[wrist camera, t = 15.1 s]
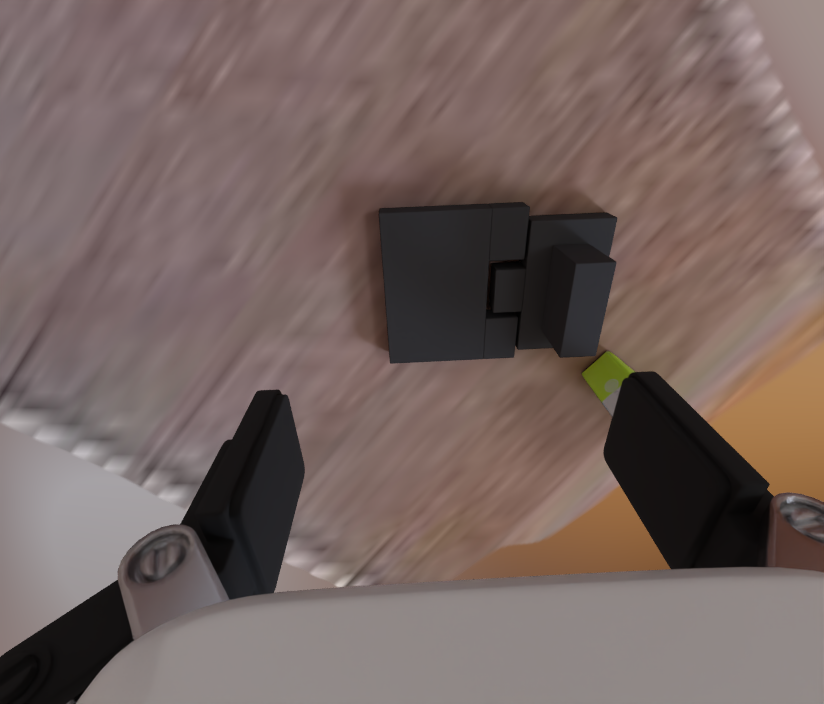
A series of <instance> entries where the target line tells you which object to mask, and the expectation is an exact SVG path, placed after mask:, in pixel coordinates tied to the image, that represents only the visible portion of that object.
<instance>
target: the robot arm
mask: <svg viewBox="0 0 824 704" xmlns="http://www.w3.org/2000/svg"><path fill="white" fill-rule="evenodd" d="M604 458H605V461H606V463H607V465H608V466H609V468H610V470H611V471H612V473H613V474H614V476H615V478H616V479H617V481H618V483H619V484H620V486H621V488H622V489H623V491H624V492H625V494H626V496H627V497H628V499H629V501H630V503H631V504H632V506H633V508H634V509H635V511H636V512H637V514H638V516H639V517H640V519H641V521H642V522H643V524H644V526H645V527H646V529H647V531H648V532H649V534H650V536H651V537H652V539H653V541H654V542H655V544H656V545H657V547H658V549H659V550H660V552H661V554H662V555H663V557H664V559H665V560H666V562H667V564H668V565H669V566H670V568H671V569H669V570H648V571H628V572H606V573H586V574H565V575H547V576H529V577H509V578H491V579H473V580H454V581H437V582H420V583H403V584H386V585H369V586H352V587H339V588H327V589H313V590H300V591H287V592H277V593H274V590H275V588H276V584H277V580H278V576H279V572H280V569H281V565H282V561H283V557H284V553H285V549H286V545H287V541H288V537H289V534H290V530H291V526H292V522H293V518H294V514H295V510H296V506H297V502H298V499H299V495H300V491H301V487H302V483H303V479H304V473H305V467H304V461H303V457H302V453H301V449H300V444H299V440H298V436H297V432H296V427H295V423H294V419H293V415H292V411H291V406H290V402H289V398H288V396H287V395H282V394H281V392H280V390H261V391H257V392H256V394H255V396H254V398H253V400H252V401H251V403H250V405H249V407H248V409H247V411H246V413H245V415H244V417H243V419H242V421H241V423H240V425H239V427H238V429H237V431H236V433H235V435H234V437H233V439H232V440H227V441H225V442H224V444H223V445H222V447H221V449H220V450H219V452H218V454H217V456H216V458H215V460H214V462H213V464H212V466H211V467H210V469H209V471H208V473H207V475H206V477H205V479H204V481H203V482H202V484H201V486H200V488H199V490H198V492H197V494H196V496H195V498H194V499H193V501H192V503H191V505H190V507H189V509H188V511H187V513H186V515H185V516H184V518H183V520H182V522H181V524H180V525H169V526H165V527H161V528H159V529H157V530H155V531H152V532H150V533H149V534H147V535H146V536H144V537H143V538H142V539H140V540H139V541H137V542H136V543H135V544H134V545H133V546H132V547H131V548H130V549H129V550H128V552H127V553H126V555H125V556H124V557H123V559H122V561H121V563H120V566H119V568H118V580H117V581H115V582H114V583H112V584H110V585H109V586H108V587H106V588H104V589H103V590H101V591H100V592H98V593H97V594H95V595H94V596H92V597H90V598H89V599H87V600H86V601H84V602H83V603H81V604H80V605H78V606H77V607H75V608H74V609H72V610H71V611H69V612H67V613H66V614H64V615H63V616H61V617H60V618H58V619H57V620H55V621H54V622H52V623H51V624H49V625H47V626H46V627H44V628H43V629H41V630H40V631H38V632H37V633H35V634H34V635H32V636H31V637H29V638H27V639H26V640H24V641H23V642H21V643H20V644H18V645H17V646H15V647H14V648H12V649H11V650H9V651H8V652H6V653H5V654H4V655H2V656H1V657H0V704H824V502H822V501H820V500H817V499H815V498H812V497H809V496H805V495H802V494H796V493H781V494H778V495H776V496H775V497H774V496H773V495H772V494H771V493H770V492H769V491H768V490H767V488H768V486H769V483H768V482H767V481H766V480H765V479H764V478H763V477H762V476H761V475H760V474H759V473H758V472H757V471H756V470H755V469H754V468H753V467H752V466H751V465H750V464H749V463H748V462H747V461H746V460H745V459H744V458H743V457H742V456H741V455H740V454H739V453H737V451H736V450H735V449H734V448H733V447H732V446H731V445H729V443H727V442H726V441H725V440H724V439H723V438H722V437H721V436H720V435H719V434H718V433H717V432H716V431H715V430H714V429H713V428H712V427H711V426H710V425H709V424H708V423H707V422H706V421H705V420H704V419H703V418H702V417H701V416H700V415H699V414H698V413H697V412H696V411H695V410H694V409H693V408H692V407H691V406H690V405H689V404H688V403H687V402H686V401H685V400H684V399H683V398H682V397H681V396H680V395H679V394H678V393H677V392H676V391H675V390H674V389H673V388H672V387H671V386H670V385H669V384H668V383H667V382H666V381H665V380H664V379H663V378H662V377H661V376H659V375H658V374H657V373H656V372H652V371H651V372H633V373H631V374H630V375H629V376H628V378H625V379H624V380H623V381H622V384H621V388H620V392H619V395H618V399H617V403H616V406H615V410H614V414H613V417H612V421H611V424H610V428H609V432H608V435H607V439H606V443H605V446H604Z"/></svg>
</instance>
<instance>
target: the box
mask: <svg viewBox="0 0 824 704" xmlns="http://www.w3.org/2000/svg"><path fill="white" fill-rule="evenodd" d="M633 372H635V371H633V370H632V369H631V368H630V367H629V366H627V365H626V364H625V363H624V362H623V361H622V360H620V359H619V358H618V357H617V356H615V355H614V354H612V353H610V352H609V351H606V352H605V353H604V354H603V355H602V356H601V357H600V358H599V359H597V360H596V361H595V362H594V363H593V364H592V365H591V366H590V367H588V368H587V369H586V370H585V371H584V372H583V373H582V376H583V377H584V379H585V380H586V382H587V383H588V384H589V386H590V387H591V389H592V390H593V391H594V393H595V394H596V395H597V397H598V398H599V400H600V401H601V402H602V404H603V405H604V406H605V408H606V409H607V410H608V412H609V413H610V415H611V416H612V417H613V414H614V410H615V406H616V403H617V399H618V395H619V392H620V388H621V384H622V381H623V380H624V379H625V378H628V376H629V375H630V374H631V373H633Z"/></svg>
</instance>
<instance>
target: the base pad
mask: <svg viewBox="0 0 824 704" xmlns="http://www.w3.org/2000/svg"><path fill="white" fill-rule="evenodd" d="M529 210H530V207H529V206H528V205H526V204H525V203H523V202H514V203H492V204H469V205H446V206H424V207H401V208H380V210H379V223H380V236H381V249H382V263H383V276H384V289H385V303H386V316H387V329H388V343H389V356H390V363H410V362H431V361H452V360H472V359H492V358H513V357H514V351H515V342H516V333H517V323H518V317H517V315H516V313H515V312H499V313H493V311H492V310H486V302H487V286H488V269H489V261H500V260H521V259H524V257H525V248H526V238H527V229H528V220H529Z"/></svg>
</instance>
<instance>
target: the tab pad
mask: <svg viewBox="0 0 824 704" xmlns="http://www.w3.org/2000/svg"><path fill="white" fill-rule="evenodd" d="M616 222H617V217H615V216H613V215H611V214H609V213H584V214H562V215H540V216H529V220H528V229H527V238H526V248H525V257H524V259H521V263H520V262H514V263H493V264H492V266H491V282H490V297H489V305H490V307H491V309H492V311H493V313H499V312H516V315H517V317H518V323H517V333H516V342H515V345H516V347H517V349H518V350H520V349H541V348H554V350H555V351H556V353H557V354H558V355H559V357H560V358H562V357H583V356H596V352H597V347H598V343H599V338H600V334H601V329H602V325H603V320H604V316H605V311H606V307H607V302H608V298H609V293H610V289H611V284H612V280H613V275H614V271H615V266H616V261H614V260H613V259H611V258H610V257H609V255H610V250H611V245H612V241H613V236H614V231H615V227H616Z"/></svg>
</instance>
